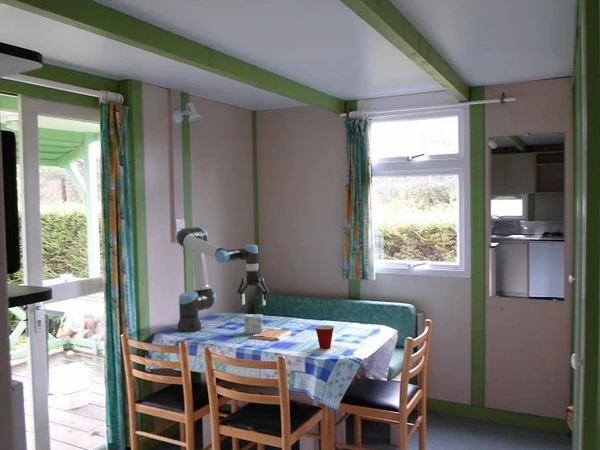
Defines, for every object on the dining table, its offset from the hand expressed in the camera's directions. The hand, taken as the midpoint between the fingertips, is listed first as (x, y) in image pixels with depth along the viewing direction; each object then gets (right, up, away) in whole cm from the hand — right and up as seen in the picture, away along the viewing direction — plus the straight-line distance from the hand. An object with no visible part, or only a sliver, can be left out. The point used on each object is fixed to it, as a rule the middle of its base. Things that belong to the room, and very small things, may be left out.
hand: (253, 304), depth 319 cm
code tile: (+3, -17, -2) cm, 18 cm away
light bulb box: (0, -17, +1) cm, 17 cm away
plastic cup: (+42, -18, -35) cm, 58 cm away
